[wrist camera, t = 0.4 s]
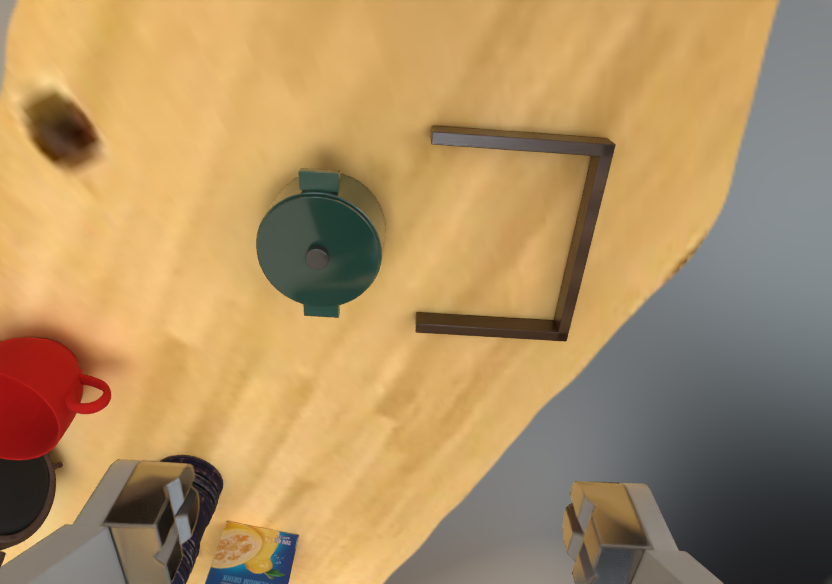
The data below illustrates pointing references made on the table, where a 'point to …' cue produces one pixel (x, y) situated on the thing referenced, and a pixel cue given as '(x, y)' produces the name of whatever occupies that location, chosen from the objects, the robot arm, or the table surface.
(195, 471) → the storage jar
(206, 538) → the table surface
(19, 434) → the ceramic cup
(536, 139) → the frame
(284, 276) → the pot
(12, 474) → the alarm clock
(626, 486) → the robot arm
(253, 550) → the beverage box
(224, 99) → the table surface
